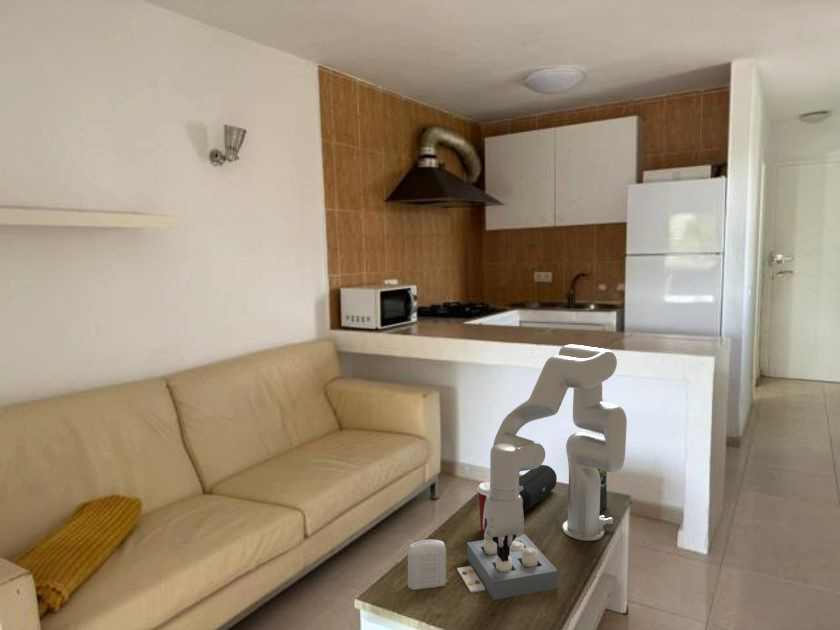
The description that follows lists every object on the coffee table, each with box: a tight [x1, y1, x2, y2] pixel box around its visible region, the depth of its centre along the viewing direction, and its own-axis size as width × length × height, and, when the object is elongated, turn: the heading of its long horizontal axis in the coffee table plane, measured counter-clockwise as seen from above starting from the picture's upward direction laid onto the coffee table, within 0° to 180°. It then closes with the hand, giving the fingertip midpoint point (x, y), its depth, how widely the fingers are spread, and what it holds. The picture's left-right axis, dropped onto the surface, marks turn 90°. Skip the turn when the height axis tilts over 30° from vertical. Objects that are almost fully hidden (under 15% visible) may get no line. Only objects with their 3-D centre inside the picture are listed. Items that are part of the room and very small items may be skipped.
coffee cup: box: [477, 481, 490, 535], centre depth 179 cm, size 8×8×15 cm
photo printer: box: [407, 539, 447, 591], centre depth 151 cm, size 10×4×12 cm, turn 103°
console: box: [466, 533, 559, 601], centre depth 156 cm, size 18×20×5 cm
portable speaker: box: [519, 464, 557, 513], centre depth 200 cm, size 26×10×10 cm, turn 143°
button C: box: [483, 538, 497, 556], centre depth 159 cm, size 4×4×5 cm
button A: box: [510, 541, 524, 564], centre depth 161 cm, size 4×4×5 cm
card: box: [457, 565, 486, 593], centre depth 154 cm, size 4×11×1 cm, turn 15°
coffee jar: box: [597, 469, 608, 512], centre depth 195 cm, size 10×8×19 cm
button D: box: [495, 556, 513, 573], centre depth 151 cm, size 4×4×5 cm
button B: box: [522, 548, 538, 569], centre depth 153 cm, size 4×4×5 cm
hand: (503, 558), depth 151 cm, fingers closed
